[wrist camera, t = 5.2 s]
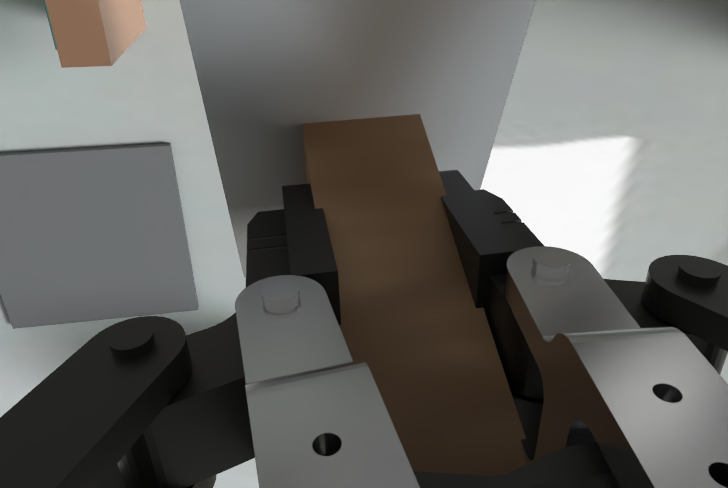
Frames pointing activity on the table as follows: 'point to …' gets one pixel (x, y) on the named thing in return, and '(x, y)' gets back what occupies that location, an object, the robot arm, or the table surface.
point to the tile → (94, 29)
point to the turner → (377, 184)
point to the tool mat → (92, 235)
